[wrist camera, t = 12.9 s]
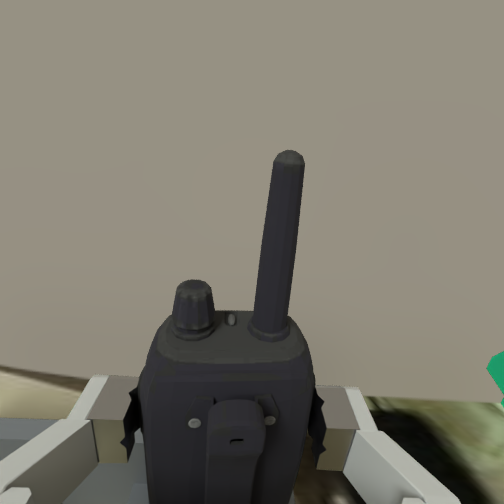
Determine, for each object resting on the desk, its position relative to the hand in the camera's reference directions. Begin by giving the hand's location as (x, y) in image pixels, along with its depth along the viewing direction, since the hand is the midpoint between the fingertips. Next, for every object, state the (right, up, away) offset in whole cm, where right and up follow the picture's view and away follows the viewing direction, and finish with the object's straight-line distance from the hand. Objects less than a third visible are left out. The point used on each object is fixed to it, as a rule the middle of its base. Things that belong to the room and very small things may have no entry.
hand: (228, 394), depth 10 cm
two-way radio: (0, -7, +2) cm, 7 cm away
